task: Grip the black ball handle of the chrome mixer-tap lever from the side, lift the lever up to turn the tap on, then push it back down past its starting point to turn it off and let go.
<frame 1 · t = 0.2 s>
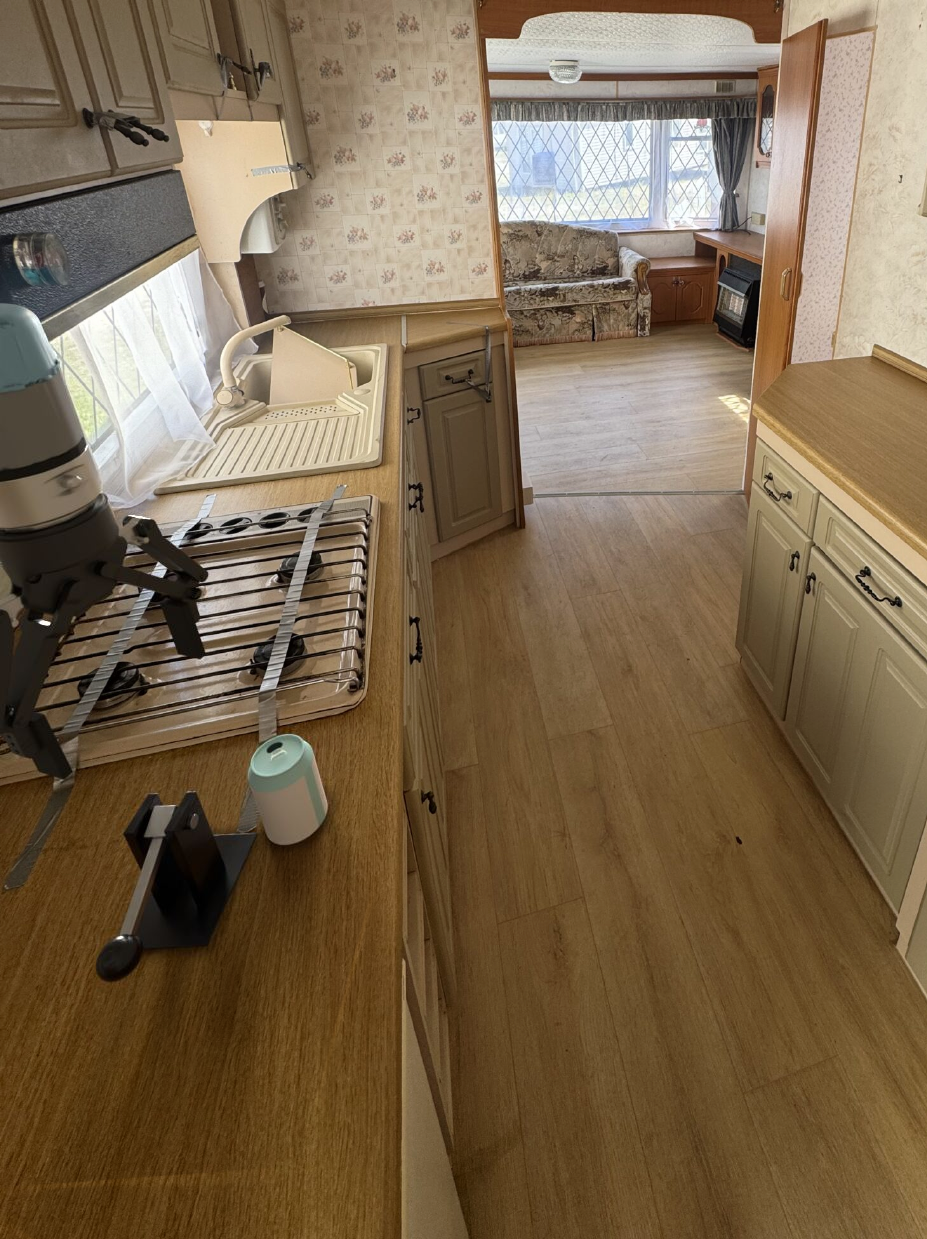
hand: (131, 707, 60), 30 cm above the worktop, tool pointing down, fingers open, 13 cm apart
tap lever: (143, 888, 65), point 10 cm above the worktop, hinge at -25.0°
can: (299, 823, 82), on the worktop
lever stand: (196, 893, 74), on the worktop
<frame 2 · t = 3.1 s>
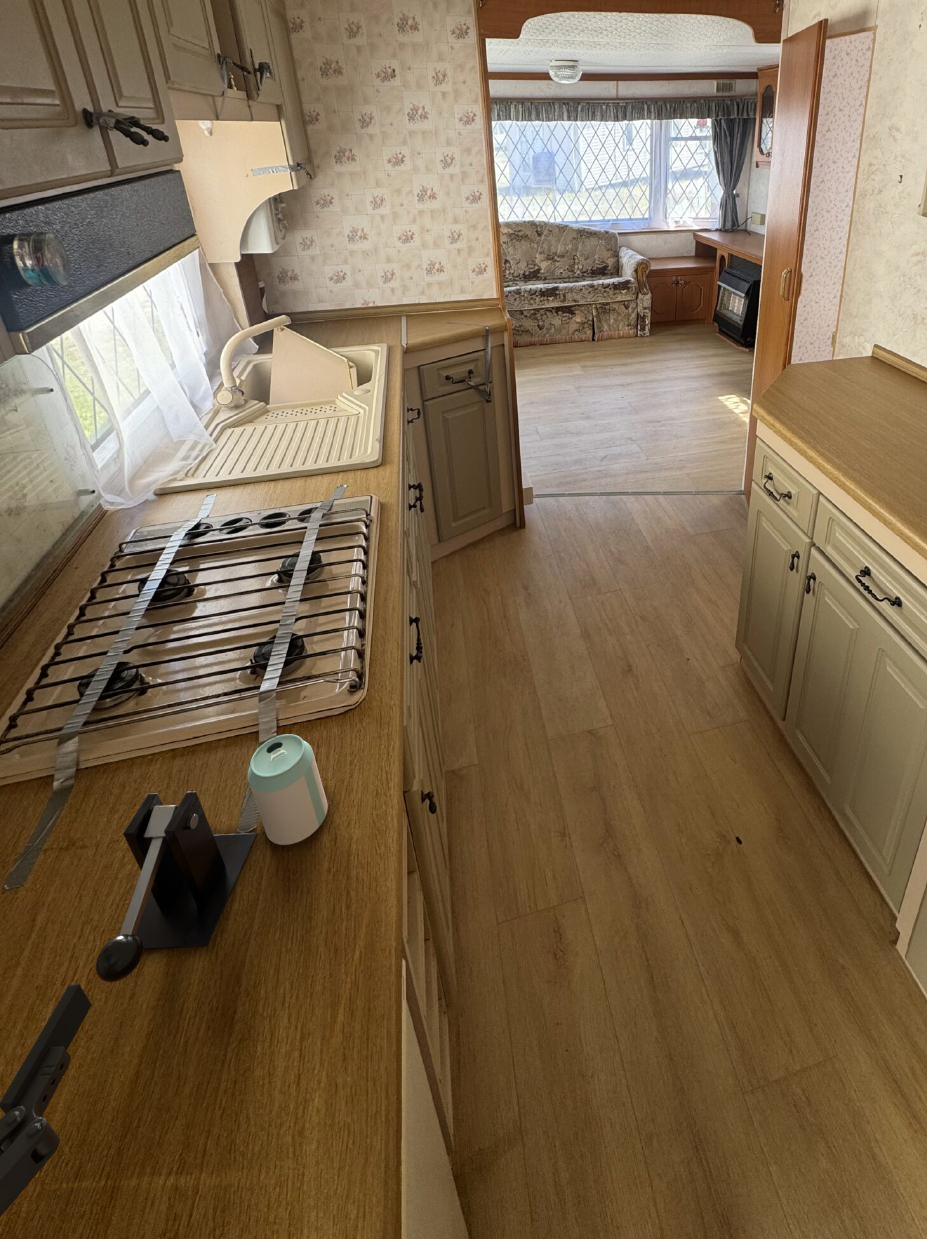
nothing on the worktop moved.
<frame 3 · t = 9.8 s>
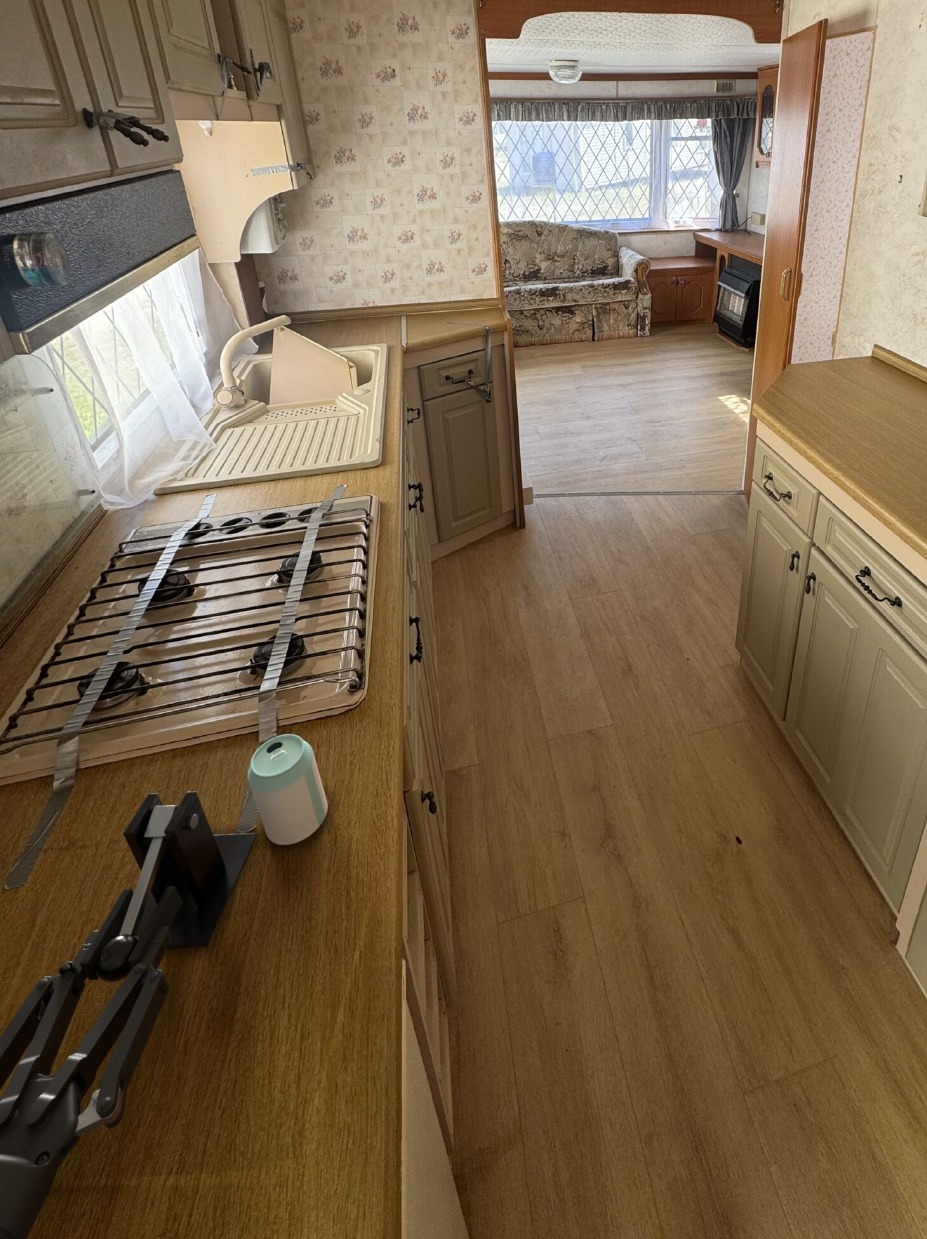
hand: (153, 896, 67), 7 cm above the worktop, tool horizontal, fingers closed on tap lever, 4 cm apart
tap lever: (143, 889, 65), point 10 cm above the worktop, hinge at -25.0°, touching gripper
everything else where it was.
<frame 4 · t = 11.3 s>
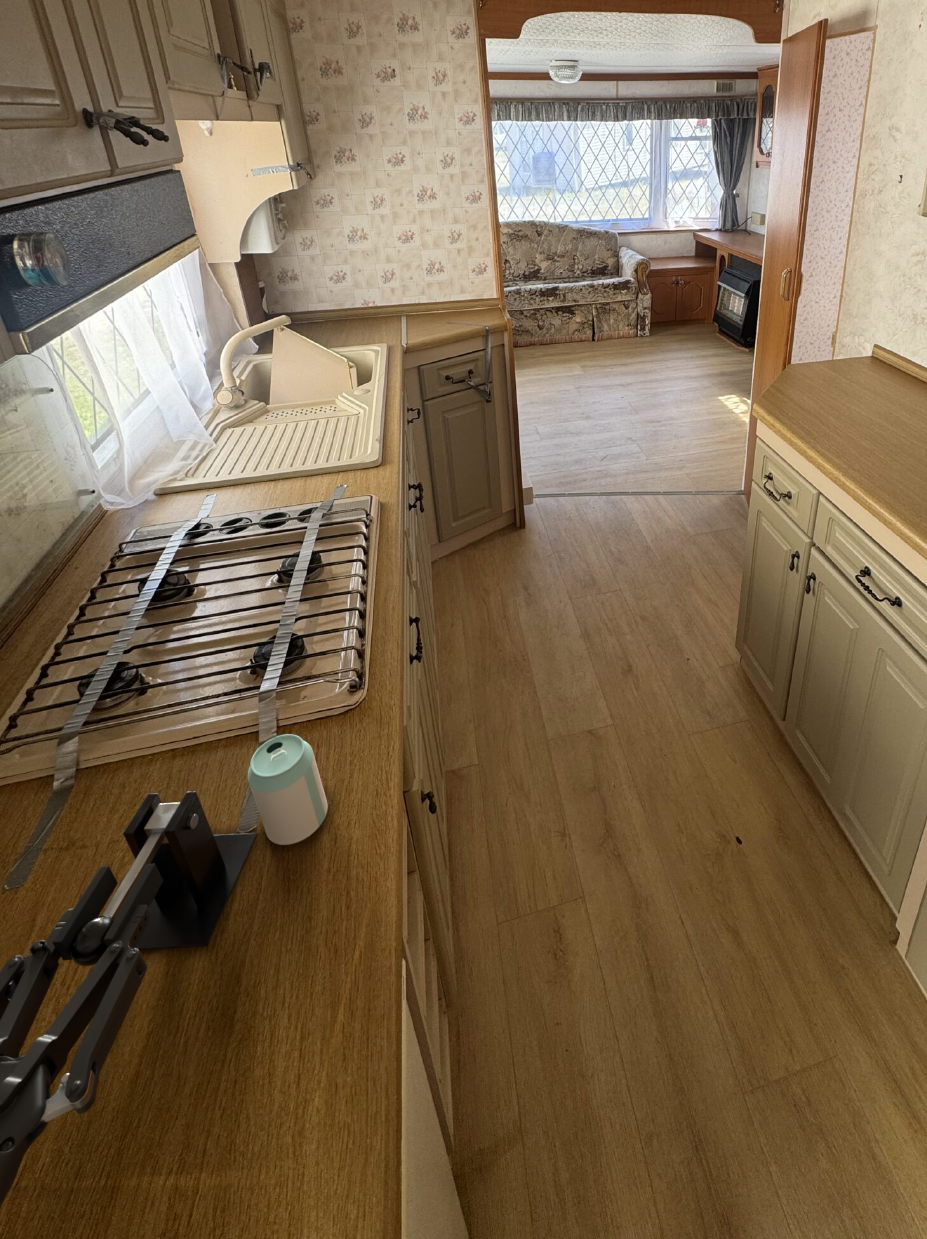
hand: (132, 874, 64), 12 cm above the worktop, tool horizontal, fingers closed on tap lever, 4 cm apart
tap lever: (132, 879, 64), point 12 cm above the worktop, hinge at 0.3°, touching gripper
everything else where it was.
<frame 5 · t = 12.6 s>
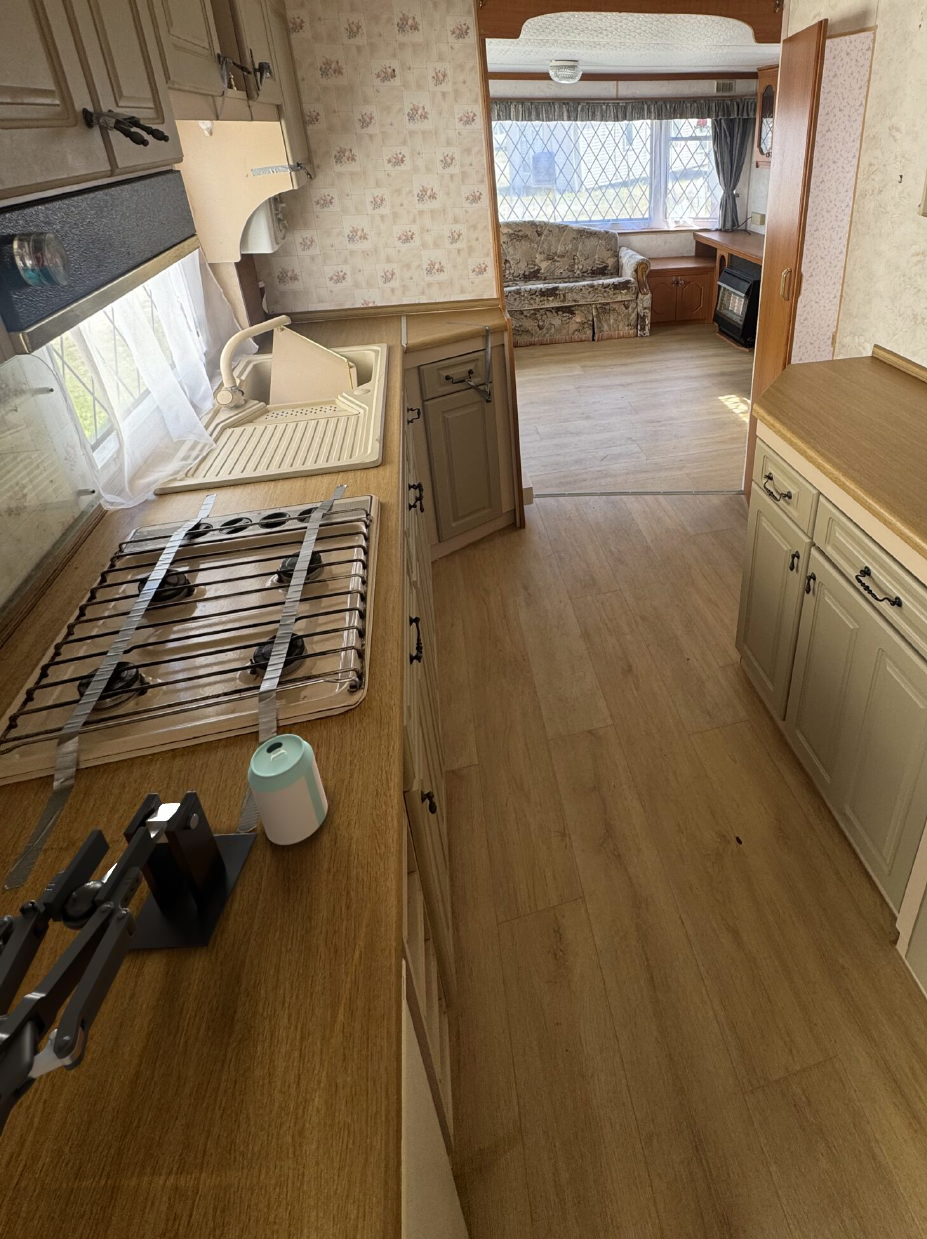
hand: (124, 838, 63), 17 cm above the worktop, tool horizontal, fingers closed on tap lever, 4 cm apart
tap lever: (128, 861, 63), point 14 cm above the worktop, hinge at 21.3°, touching gripper
everything else where it was.
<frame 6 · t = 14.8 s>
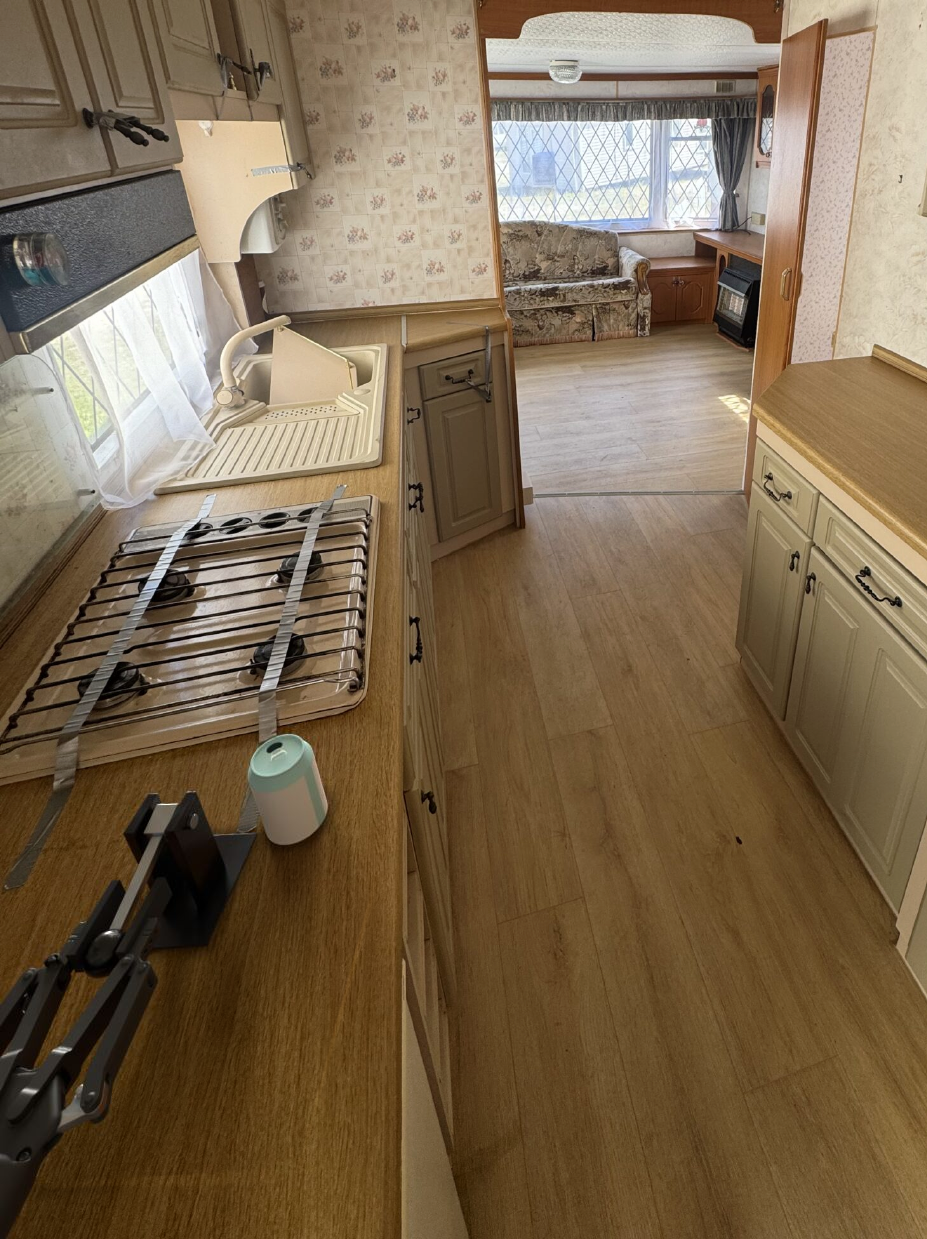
hand: (142, 887, 65), 10 cm above the worktop, tool horizontal, fingers closed on tap lever, 4 cm apart
tap lever: (137, 886, 65), point 11 cm above the worktop, hinge at -12.9°, touching gripper
everything else where it was.
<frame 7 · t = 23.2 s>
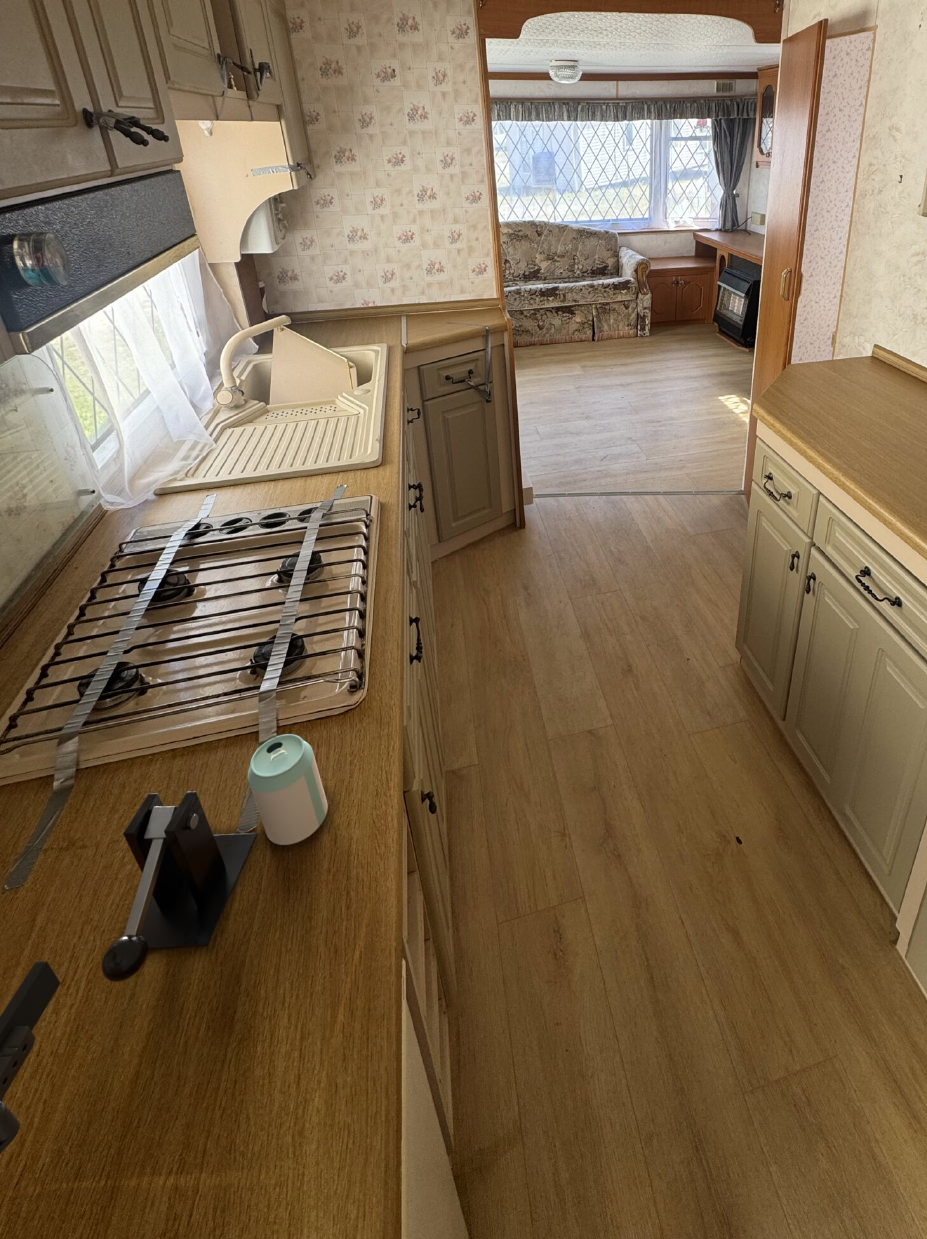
tap lever: (145, 889, 66), point 9 cm above the worktop, hinge at -29.8°
everything else where it was.
at the end: tap lever reached +21° during the clip, -30° at the end; tap lever at -30° (first picture: -25°); the gripper is holding nothing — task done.
